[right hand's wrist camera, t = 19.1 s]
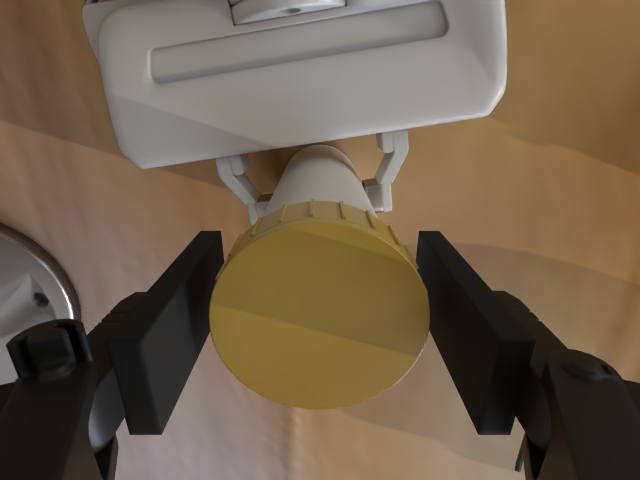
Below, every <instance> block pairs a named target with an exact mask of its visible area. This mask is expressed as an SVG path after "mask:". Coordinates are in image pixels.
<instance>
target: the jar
mask: <svg viewBox="0 0 640 480" xmlns="http://www.w3.org/2000/svg"><path fill="white" fill-rule="evenodd" d="M311 199H314V201H332V202H338V203H339V201H343V203H344V204H347V205H350V206H354V207H357V208H359V209H361V210H363V211H366V210H369V211H370V213H371V215H373V216H374V217H376V218H377V215H376V213H375V211H374V209H373V207H372V205H371V203H370V201H369V199H368V196H367V194H366V192H365V190H364V188H363V186H362V184H361V182H360V180H359V178H358V175H357V173H356V171H355V169H354V167H353V165H352V163H351V161H350V160H349V159H348V157H347V156H346V155H345V154H344V153H343V152H341V151H340V150H338V149H336V148H334V147H332V146H328V145H311V146H308V147H305V148H303V149H301V150H300V151H298V152H297V153H296V154H295V155H294V156H293V157H292V158H291V159H290V161H289V162H288V164H287V166H286V168H285V170H284V172H283V174H282V177H281V179H280V181H279V183H278V185H277V187H276V189H275V191H274V193H273V195H272V197H271V200H270V202H269V204H268V206H267V208H266V210H265V212H264V214H263V216H262V218H263V217H265V216H266V215H268V214H270V213H272V212H274V211H276V210H277V209H280V208H282V206H283V205H284V204H286V206H288V205H291V204H296V203H301V202H308V201H311Z"/></svg>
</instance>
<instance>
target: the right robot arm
mask: <svg viewBox="0 0 640 480" xmlns="http://www.w3.org/2000/svg"><path fill="white" fill-rule="evenodd" d="M223 264H224V255H223V246H222V237H221V231H200V232H199V234H198V235H197V236H196V237H195V238H194V239H193V240H192V242H191V243H190V244H189V245H188V246H187V247H186V248H185V249H184V251H183V252H182V253H181V254H180V255H179V256H178V257H177V258H176V260H175V261H174V262H173V263H172V264H171V265H170V266H169V268H168V269H167V270H166V271H165V272H164V273H163V274H162V275H161V277H160V278H159V279H158V280H157V281H156V282H155V283H154V284H153V286H152V287H151V288H150V289H149V290H148V291H147V292H135V293H134V294H132V295H130V296H128V297H127V298H125V299H123V300H121V301H120V302H119V303H118V304H117V305H116V306H115V307H114V308H113V309H112V310H111V311H110V314H107V315H106V316H105V317H104V318H103V320H102V322H101V323H99V324H98V325H97V326H96V327H95V328H94V329H93V330H92V331H91V332H90V333H89V334H88V335H86V332H85V328H84V325H83V323H82V322H81V309H80V303H79V300H78V296H77V293H76V291H75V288H74V286H73V284H72V282H71V281H70V279H69V277H68V276H67V274H66V273H65V271H64V270H63V269H62V267H61V266H60V265H59V264H58V262H57V261H56V260H55V259H54V258H53V257H52V256H51V255H50V254H49V253H48V252H47V251H46V250H44V249H43V248H42V247H41V246H40V245H38V244H37V243H36V242H34V241H33V240H32V239H30V238H28V237H27V236H25V235H24V234H22V233H20V232H18V231H16V230H15V229H13V228H10V227H8V226H6V225H4V224H1V223H0V480H114V479H115V471H116V463H117V455H118V441H117V437H116V434H115V432H116V431H117V429H118V427H119V426H120V424H121V422H122V421H123V419H124V418H125V419H126V423H127V426H128V430H129V434H130V435H162V433H163V431H164V428H165V426H166V424H167V422H168V420H169V418H170V416H171V414H172V411H173V409H174V407H175V405H176V403H177V401H178V399H179V396H180V394H181V392H182V390H183V388H184V386H185V384H186V381H187V379H188V377H189V375H190V373H191V371H192V369H193V367H194V364H195V362H196V360H197V358H198V356H199V354H200V352H201V349H202V347H203V345H204V343H205V341H206V339H207V337H208V335H209V332H210V327H209V303H210V299H211V295H212V291H213V288H214V286H215V283H216V281H215V278H216V276H217V274H218V273H219V271H220V269H221V267H222V266H223ZM416 264H417V265H418V267H419V268H418V269H416V270H417V271H418V273H419V275H420V277H421V279H422V281H423V284H424V286H425V288H426V289H427V292H428V293H427V295H428V299H429V305H430V327H429V330H430V332H431V334H432V337H433V339H434V341H435V343H436V345H437V347H438V349H439V352H440V354H441V356H442V358H443V360H444V362H445V364H446V367H447V369H448V371H449V373H450V375H451V377H452V379H453V381H454V384H455V386H456V388H457V390H458V392H459V394H460V396H461V399H462V401H463V403H464V405H465V407H466V409H467V411H468V414H469V416H470V418H471V420H472V422H473V424H474V426H475V428H476V431H477V433H478V435H510V434H511V430H512V426H513V423H514V419H515V416H516V417H517V419H518V421H519V422H520V424H521V425H522V427H523V429H524V430H525V434H524V437H523V440H522V444H521V447H520V451H519V454H518V457H517V461H516V466H515V471H518V472H520V471H521V468H522V464H523V463H524V470H525V478H526V480H640V383H637V382H632V381H627V380H623V379H622V378H621V376H620V375H619V374H618V373H617V371H616V370H615V369H614V368H613V367H611V366H610V365H608V364H607V363H606V362H604V361H603V360H601V359H599V358H597V357H595V356H593V355H590V354H588V353H584V352H581V351H578V350H572V349H568V348H567V347H566V346H565V345H564V344H563V343H562V342H561V341H560V340H559V339H558V338H557V337H556V336H555V335H554V334H553V333H552V332H551V331H550V330H549V329H548V328H547V327H546V326H545V325H544V324H543V323H542V322H541V321H539V319H538V318H537V317H536V316H535V315H534V314H533V313H532V312H530V310H529V309H528V308H527V307H526V306H525V305H524V304H523V303H522V302H521V301H520V300H519V299H517V298H516V297H514V296H512V295H511V294H509V293H507V292H505V291H492V290H491V289H490V288H489V287H488V286H487V284H486V283H485V282H484V281H483V280H482V279H481V278H480V277H479V275H478V274H477V273H476V272H475V271H474V270H473V269H472V267H471V266H470V265H469V264H468V263H467V262H466V261H465V260H464V258H463V257H462V256H461V255H460V254H459V253H458V252H457V251H456V249H455V248H454V247H453V246H452V245H451V244H450V243H449V242H448V240H447V239H446V238H445V237H444V236H443V235H442V234H441V232H440V231H419V237H418V246H417V255H416Z"/></svg>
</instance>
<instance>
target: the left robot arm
mask: <svg viewBox="0 0 640 480" xmlns="http://www.w3.org/2000/svg"><path fill="white" fill-rule="evenodd" d="M97 1H98V0H86V1H85V4H84V6H83V8H82V20H83V25H84V28H85V31H86V34H87V36H88V39H89V42H90V45H91V48H92V51H93V53H94V55H95V57H96V59H97V60H98V62H99V66H100V71H101V77H102V82H103V88H104V93H105V98H106V102H107V107H108V111H109V115H110V119H111V123H112V127H113V130H114V134H115V137H116V140H117V143H118V146H119V149H120V151H121V152H122V154H123V155H124V156H126V157H127V158H128V159H129V160H130V161H132V162H133V163H134V164H135V165H137V166H138V167H139V168H142V169H147V168H154V167H161V166H167V165H174V164H180V163H187V162H193V161H200V160H206V159H213V158H215V162H216V166H217V170H218V174H219V178H220V179H221V180H222V181H223V182H224V184H225V185H226V186H227V187H228V188H229V189H230V190H231V191H232V192H233V193H234V194H235V195H236V196H237V197H238V198H239V199H240V200H241V202H242V203H243V204H246V206H247V210H248V214H249V218H250V223H251V227H252V226H253V225H254V224H255V223H256V221H257V219H258V218H259V217H260V216H261V217H262V216H263V214H264V212H265V210H266V208H267V206H268V204H269V202H270V200H271V197H272V195H273V193H272V194H264V195H261V193H260V192H259V191H258V189H257V188H256V187H255V186H254V185H253V183H252V182H251V181H250V180H249V179H248V177H247V176H246V175H245V174H244V172H245V171H246V170H247V169H248V168H249V167H250V164H249V159H248V154H247V153H252V152H258V151H265V150H271V149H278V148H284V147H291V146H297V145H304V144H310V143H317V142H323V141H330V140H337V139H343V138H350V137H356V136H363V135H369V134H376V136H377V146H378V147H379V148H380V149H381V150H382V151H383V152H385V155H384V157H383V159H382V161H381V164H380V166H379V168H378V171H377V173H376V175H375V178H373V179H367V180H362V186H363V188H364V190H365V192H366V194H367V196H368V199H369V201H370V203H371V205H372V207H373V209H374V211H375V213H381V212H388V211H392V198H391V184H390V183H393V181H394V179H395V177H396V175H397V173H398V171H399V169H400V167H401V165H402V163H403V161H404V159H405V157H406V155H407V153H408V151H409V149H408V128H415V127H421V126H428V125H434V124H441V123H447V122H454V121H460V120H467V119H473V118H480V117H485V116H488V115H489V114H490V113H491V112H492V110H493V109H494V108H495V106H496V105H497V103H498V102H499V100H500V99H501V97H502V96H503V94H504V92H505V87H506V78H507V27H506V11H505V0H107V1H102V2H97Z"/></svg>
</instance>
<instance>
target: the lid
mask: <svg viewBox="0 0 640 480" xmlns="http://www.w3.org/2000/svg"><path fill="white" fill-rule="evenodd" d="M418 268H419V267H418V265H417V264H416V262H415V260H414V258H413V257H412V255H411V253H410V252H409V250H408V248H407V246H406V245H404V246H403V245H402V243H401V242H400V240H399V239H398V237H397V236H396V234H395V232H394V230H393V229H392V227H391V226H390V225H389V226H386V225H385V224H384V223H383V222H382V221H380V220H379V219H378V218H376V217H374V216H373V215H371V213H370V211H369V210H366V211H363V210H361V209H359V208H357V207H354V206H350V205H347V204H344V203H343V201H339V203H338V202H332V201H314V199H311V201H308V202H301V203H296V204H291V205H288V206H286V204H284V205H283V206H282V208H280V209H277V210H276V211H274V212H272V213H270V214H268V215H266V216H265V217H263V218H262V217H261V216H260V217H259V218H258V219H257V221H256V223H255V224H254V225H253V226H252V227H251V228H249V229H248V230H247V231H246V233H245V234H244V235H242V234H241V235H240V236H239V238H238V239H237V241H236V243H235V244H234V246H233V248H232V250H231V251H230V253H229V255H228V257H227V259H226V260H225V262H224V264H223V266H222V267H221V269H220V271H219V273H218V274H217V276H216V278H215V281H216V283H215V286H214V288H213V291H212V295H211V299H210V303H209V327H210V332H211V336H212V340H213V343H214V345H215V348H216V350H217V352H218V354H219V356H220V358H221V359H222V361H223V363H224V364H225V365H226V367H227V368H228V369H229V370H230V372H231V373H232V374H233V375H234V376H235V377H236V378H237V379H238V380H239V381H241V382H242V383H243V384H244V385H246V386H247V387H248V388H250V389H251V390H253V391H254V392H256V393H258V394H259V395H261V396H263V397H266V398H268V399H270V400H272V401H275V402H278V403H281V404H284V405H288V406H292V407H297V408H305V409H335V408H341V407H347V406H351V405H355V404H358V403H361V402H364V401H367V400H369V399H372V398H374V397H376V396H378V395H379V394H381V393H383V392H385V391H386V390H388V389H389V388H391V387H392V386H394V385H395V384H396V383H397V382H398V381H400V380H401V379H402V378H403V377H404V376H405V375H406V374H407V373H408V372H409V370H410V369H411V368H412V367H413V365H414V364H415V362H416V361H417V360H418V358H419V356H420V354H421V352H422V350H423V348H424V346H425V343H426V340H427V337H428V332H429V327H430V305H429V299H428V295H427V293H428V292H427V289H426V288H425V286H424V284H423V281H422V279H421V277H420V275H419V273H418V271H417V270H416V269H418Z"/></svg>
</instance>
